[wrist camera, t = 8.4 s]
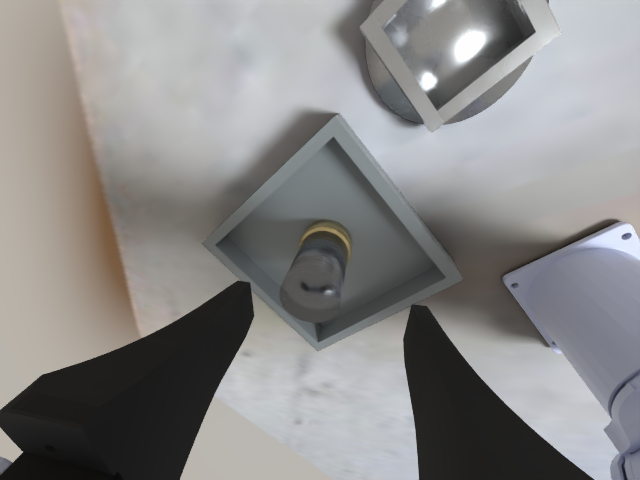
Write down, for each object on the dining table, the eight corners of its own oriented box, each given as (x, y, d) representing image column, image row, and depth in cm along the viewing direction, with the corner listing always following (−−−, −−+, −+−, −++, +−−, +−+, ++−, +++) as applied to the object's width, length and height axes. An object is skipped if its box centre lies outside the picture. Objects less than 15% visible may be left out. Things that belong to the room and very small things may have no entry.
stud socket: (573, 40, 14) (598, 33, 13) (420, 154, 18) (425, 159, 16) (487, -140, 12) (504, -176, 10) (334, 32, 16) (330, 25, 14)
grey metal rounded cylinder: (355, 222, 20) (347, 275, 14) (349, 266, 22) (340, 330, 16) (303, 216, 21) (274, 265, 15) (302, 260, 23) (276, 319, 17)
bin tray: (453, 261, 21) (463, 280, 19) (322, 330, 27) (317, 351, 25) (339, 113, 18) (335, 115, 16) (217, 230, 24) (201, 243, 21)
